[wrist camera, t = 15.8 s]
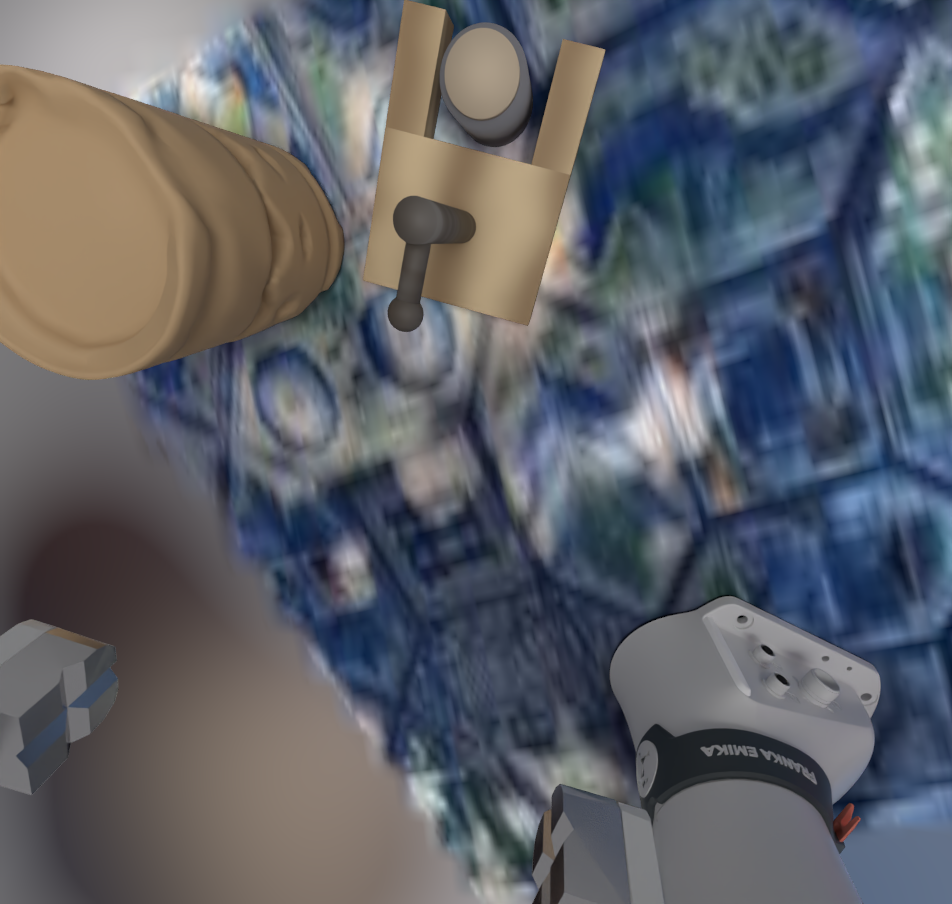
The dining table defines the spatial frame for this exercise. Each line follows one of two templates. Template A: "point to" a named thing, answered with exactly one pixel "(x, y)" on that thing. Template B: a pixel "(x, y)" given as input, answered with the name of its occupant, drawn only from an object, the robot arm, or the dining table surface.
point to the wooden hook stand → (468, 188)
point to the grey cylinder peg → (487, 84)
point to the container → (145, 230)
